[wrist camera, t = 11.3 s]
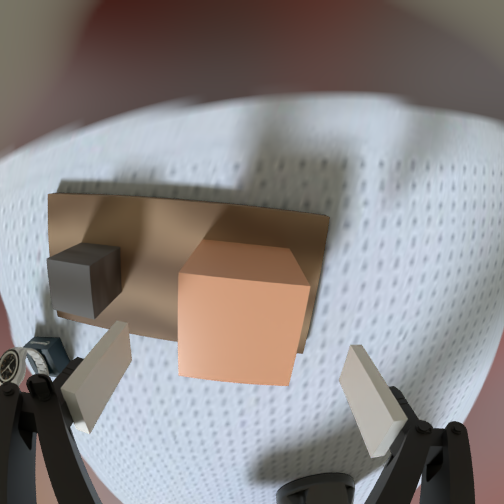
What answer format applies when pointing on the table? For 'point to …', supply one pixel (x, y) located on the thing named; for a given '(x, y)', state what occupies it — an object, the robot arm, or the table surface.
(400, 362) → the table surface
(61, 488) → the robot arm
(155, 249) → the post board
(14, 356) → the watch
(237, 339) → the peach cube
